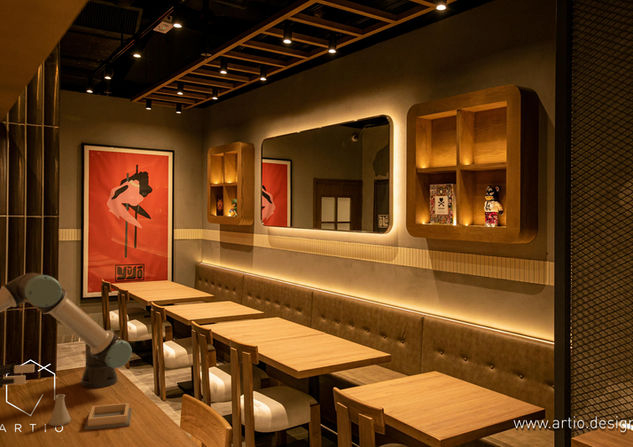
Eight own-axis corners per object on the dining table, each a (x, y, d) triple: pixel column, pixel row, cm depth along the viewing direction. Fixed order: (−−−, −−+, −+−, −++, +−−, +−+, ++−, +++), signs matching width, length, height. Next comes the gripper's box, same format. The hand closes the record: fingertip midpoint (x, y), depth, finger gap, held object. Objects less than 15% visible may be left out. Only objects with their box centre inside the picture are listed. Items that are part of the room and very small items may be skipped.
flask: (61, 427, 187) (62, 400, 186) (44, 425, 188) (44, 398, 188) (75, 419, 194) (75, 393, 193) (57, 418, 195) (58, 391, 195)
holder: (89, 414, 199) (89, 405, 199) (131, 410, 203) (131, 401, 203) (84, 430, 185) (84, 420, 184) (129, 425, 189) (129, 416, 189)
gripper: (-27, 377, 193) (37, 373, 200) (-53, 401, 169) (20, 395, 176) (-27, 357, 193) (37, 354, 199) (-53, 378, 169) (21, 373, 176)
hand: (29, 373), depth 188 cm, fingers open, 13 cm apart
